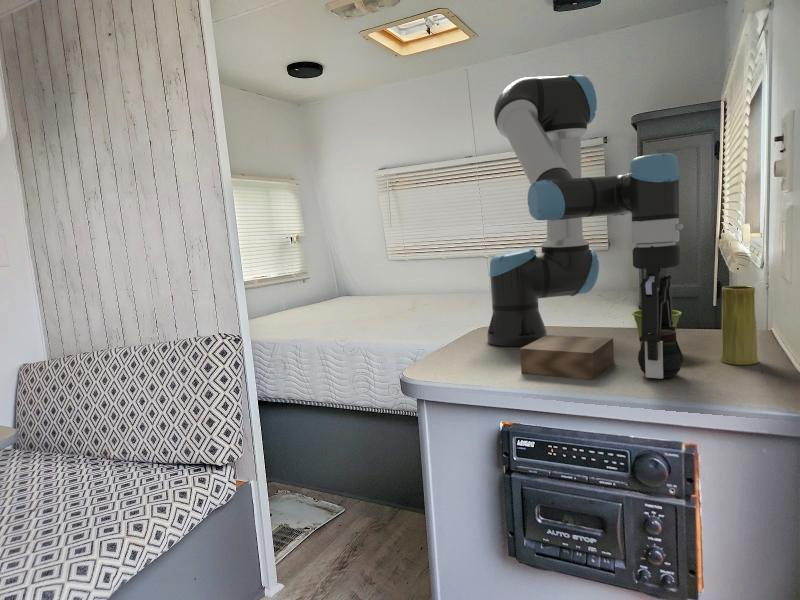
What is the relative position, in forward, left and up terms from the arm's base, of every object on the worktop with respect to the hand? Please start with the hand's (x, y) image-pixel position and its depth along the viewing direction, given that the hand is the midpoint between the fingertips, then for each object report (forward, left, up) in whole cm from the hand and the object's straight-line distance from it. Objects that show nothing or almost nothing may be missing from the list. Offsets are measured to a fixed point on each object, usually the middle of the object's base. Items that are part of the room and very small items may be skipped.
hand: (658, 371), depth 94 cm
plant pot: (-4, +19, -1) cm, 19 cm away
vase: (+11, +15, -1) cm, 19 cm away
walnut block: (-17, +1, -1) cm, 17 cm away
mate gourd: (0, 0, -1) cm, 1 cm away
